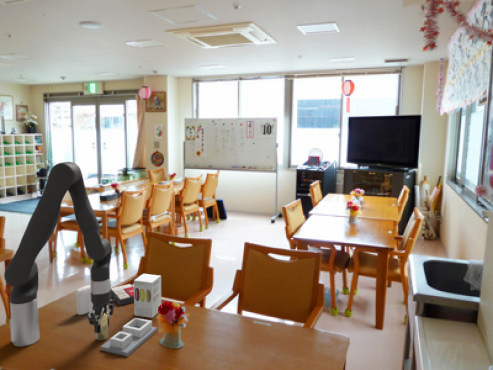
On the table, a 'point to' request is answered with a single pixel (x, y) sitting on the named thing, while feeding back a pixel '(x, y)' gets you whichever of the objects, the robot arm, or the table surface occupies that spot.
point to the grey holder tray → (130, 337)
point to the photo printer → (84, 300)
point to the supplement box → (147, 295)
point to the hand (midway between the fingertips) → (102, 329)
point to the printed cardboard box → (123, 294)
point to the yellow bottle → (103, 328)
